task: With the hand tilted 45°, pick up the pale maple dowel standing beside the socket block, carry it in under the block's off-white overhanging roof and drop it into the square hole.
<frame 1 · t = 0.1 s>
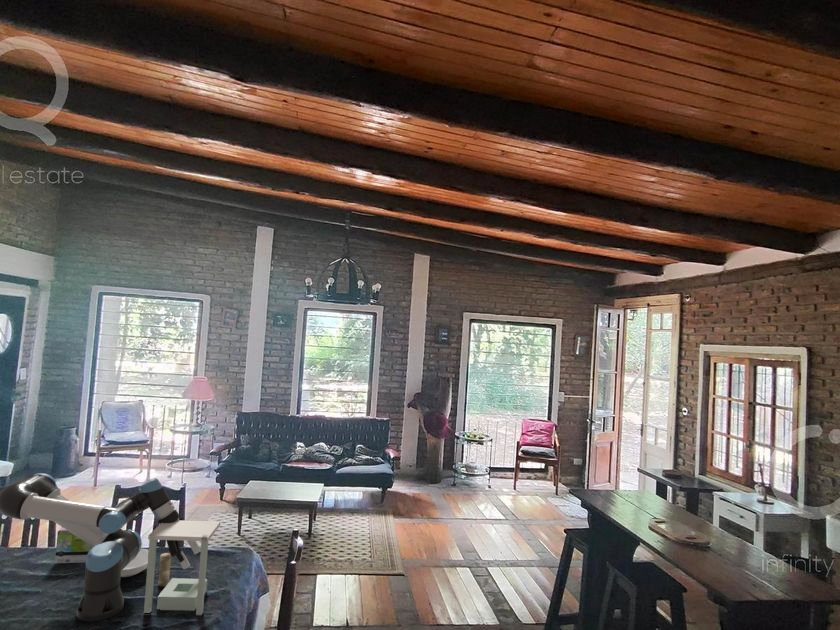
hand: (192, 559, 209), 13 cm above the table, tool tilted 35°, fingers open, 12 cm apart
dowel: (163, 583, 214), on the table
tea box: (78, 559, 230), on the table
bowl: (127, 573, 220), on the table
socket: (182, 600, 203), on the table
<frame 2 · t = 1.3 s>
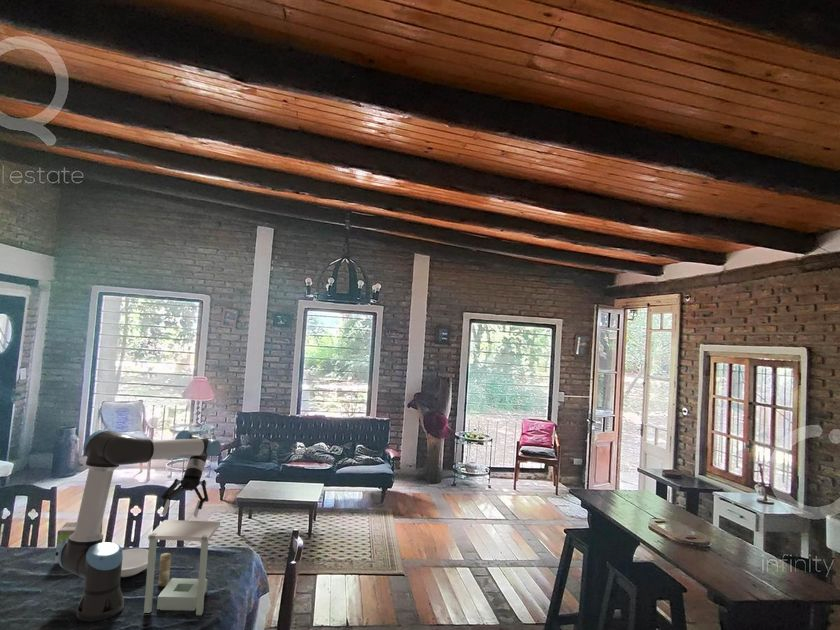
hand: (179, 515, 225), 24 cm above the table, tool tilted 45°, fingers open, 13 cm apart
nothing on the table moved.
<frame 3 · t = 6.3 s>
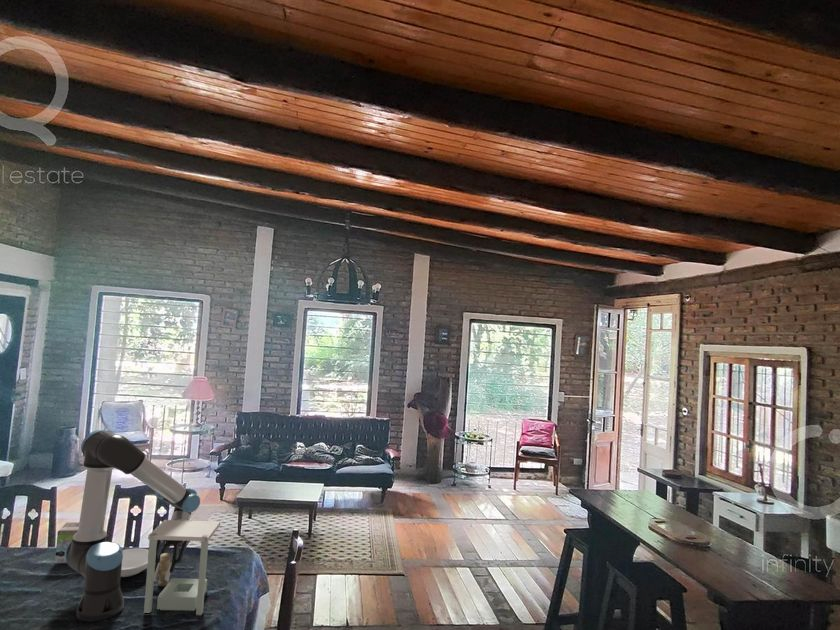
hand: (160, 580, 210), 3 cm above the table, tool tilted 45°, fingers closed on dowel, 4 cm apart
dowel: (163, 583, 214), on the table, touching gripper
everything else where it was.
when the fingers open (7 cm above the table, at t = 12.8 s): dowel drops 3 cm, resting on socket.
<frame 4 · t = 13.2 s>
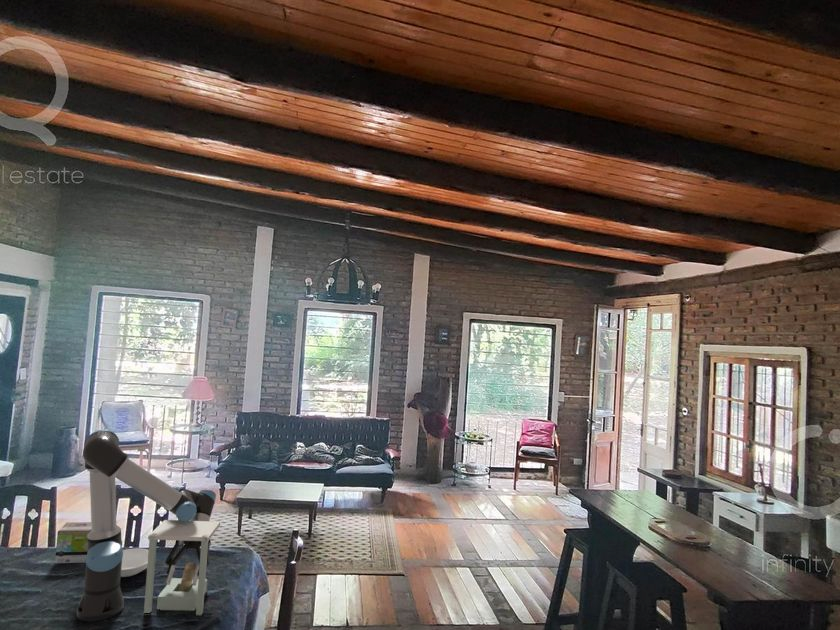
hand: (181, 584, 200), 8 cm above the table, tool tilted 45°, fingers open, 9 cm apart
dowel: (182, 596, 203), point 1 cm above the table, tilted 13°, touching socket
everything else where it was.
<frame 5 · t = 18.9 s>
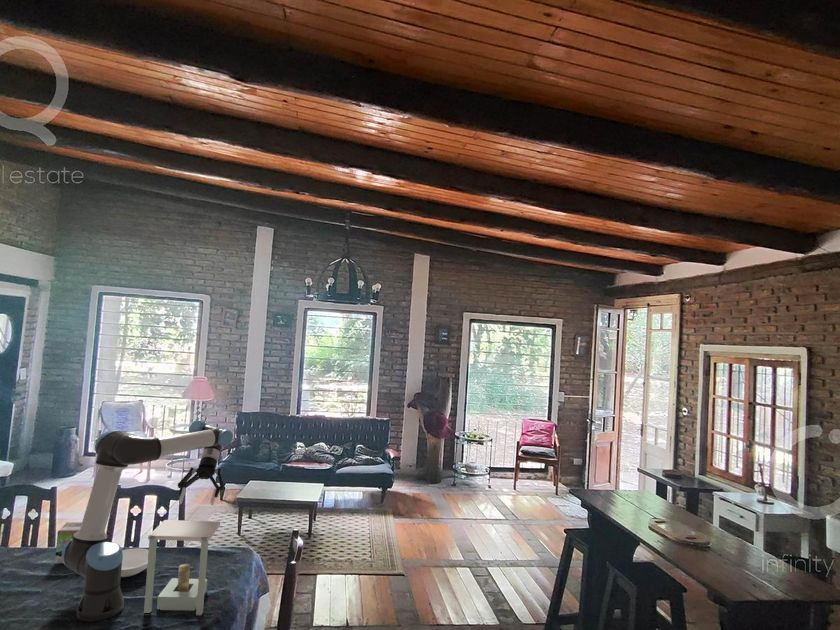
hand: (195, 503, 227), 30 cm above the table, tool tilted 45°, fingers open, 13 cm apart
dowel: (182, 597, 203), point 1 cm above the table, touching socket
everything else where it was.
at the end: dowel 0.0 cm off-centre on the socket, point 1.2 cm above the socket's base; dowel tilted 5°; the gripper is holding nothing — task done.
